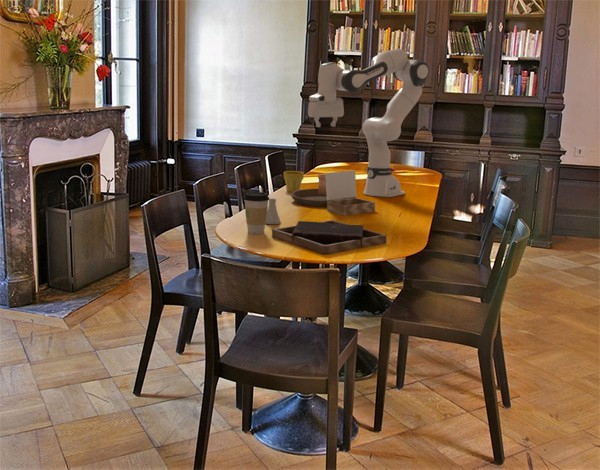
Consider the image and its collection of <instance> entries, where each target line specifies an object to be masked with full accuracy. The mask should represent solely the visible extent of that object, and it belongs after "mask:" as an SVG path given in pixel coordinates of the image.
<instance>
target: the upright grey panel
mask: <svg viewBox="0 0 600 470" xmlns="http://www.w3.org/2000/svg"><path fill="white" fill-rule="evenodd" d="M324 174H325V175H326V192H327V200H333V199H341V198H349V197H355V198H358V197H357V182H356V181H357V179H356V178H357V177H356V176H357V175H356V170H347V171H345V170H344V171H335V172H325V173H324Z"/></svg>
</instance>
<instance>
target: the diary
mask: <svg viewBox="0 0 600 470" xmlns="http://www.w3.org/2000/svg"><path fill="white" fill-rule="evenodd" d="M322 222H323V221H307V220H305V221H303V220H299V221H297V222H296V223H297V224H296V225H295V226H296V227H295V229H294V231H293V233H292V242H293V236H298V237H301V238H304V239H307V240H310V241H314V242H317V243H320V244H328V245H329V244H335V243H340V242H346V241H351V240H361V247H362V238H363V235H362V234H363V229H364V224H348V223H345V224H330V223H322Z"/></svg>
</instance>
